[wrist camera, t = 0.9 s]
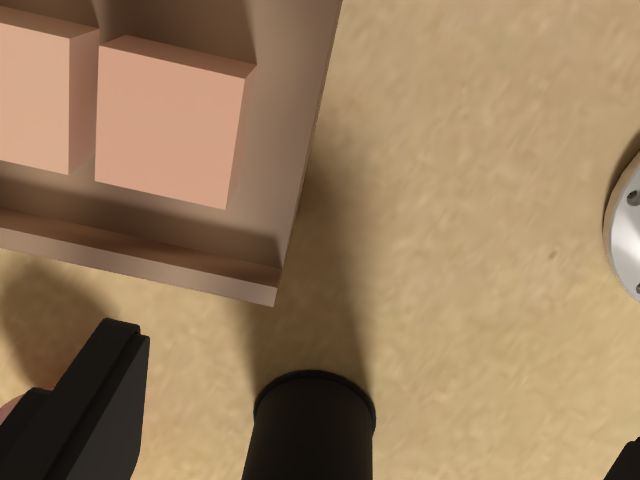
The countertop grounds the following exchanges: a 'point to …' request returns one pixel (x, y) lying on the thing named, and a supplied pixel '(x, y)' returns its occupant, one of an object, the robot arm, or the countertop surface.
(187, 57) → the tile
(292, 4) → the brown wooden box
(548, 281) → the countertop surface
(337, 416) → the aerosol can
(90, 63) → the tile
